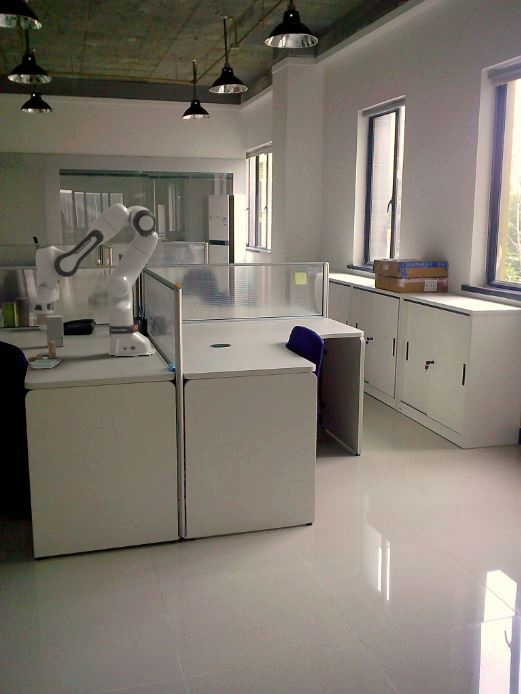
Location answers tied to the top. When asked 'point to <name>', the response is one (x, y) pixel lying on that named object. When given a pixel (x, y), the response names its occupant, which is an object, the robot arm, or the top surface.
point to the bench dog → (35, 358)
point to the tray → (44, 363)
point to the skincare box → (55, 330)
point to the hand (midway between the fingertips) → (49, 312)
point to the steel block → (43, 354)
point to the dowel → (52, 350)
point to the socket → (56, 358)
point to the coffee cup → (42, 316)
